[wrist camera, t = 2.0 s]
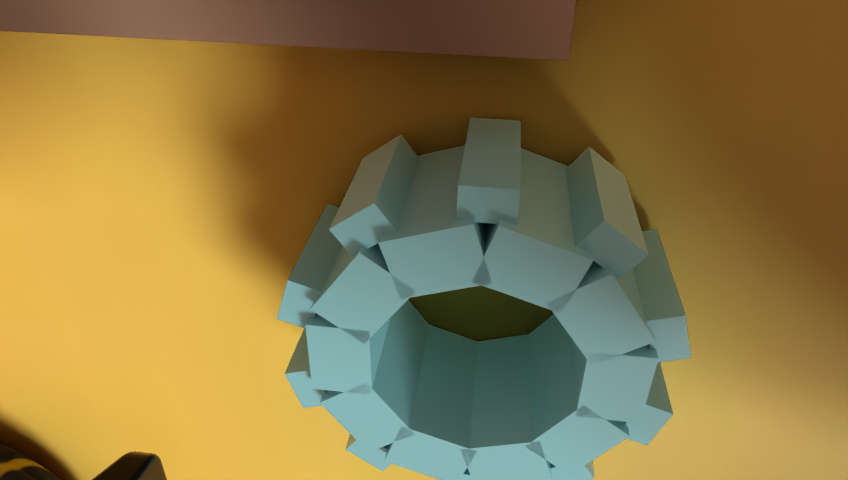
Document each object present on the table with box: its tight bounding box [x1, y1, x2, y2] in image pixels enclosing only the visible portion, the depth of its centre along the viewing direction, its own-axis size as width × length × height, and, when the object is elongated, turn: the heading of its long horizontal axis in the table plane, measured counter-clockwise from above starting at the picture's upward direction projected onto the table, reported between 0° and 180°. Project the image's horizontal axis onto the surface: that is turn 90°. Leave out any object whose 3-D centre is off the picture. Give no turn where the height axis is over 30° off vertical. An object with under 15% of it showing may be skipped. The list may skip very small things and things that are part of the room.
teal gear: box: [277, 118, 691, 480], centre depth 12 cm, size 7×7×3 cm
